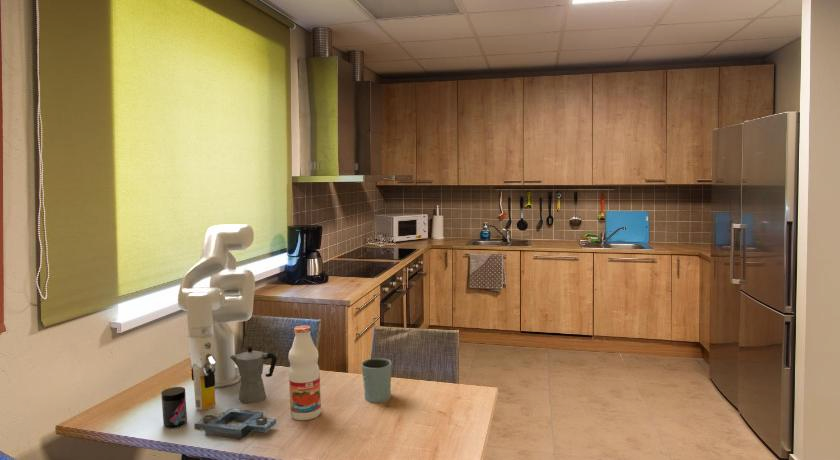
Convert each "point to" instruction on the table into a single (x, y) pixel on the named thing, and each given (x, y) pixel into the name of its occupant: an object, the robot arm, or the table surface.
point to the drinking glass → (377, 379)
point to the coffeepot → (252, 374)
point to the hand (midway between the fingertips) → (203, 383)
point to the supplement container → (174, 407)
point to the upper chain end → (252, 424)
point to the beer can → (202, 391)
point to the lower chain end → (208, 418)
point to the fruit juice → (304, 376)
